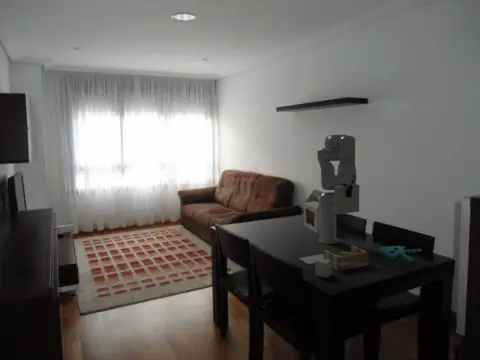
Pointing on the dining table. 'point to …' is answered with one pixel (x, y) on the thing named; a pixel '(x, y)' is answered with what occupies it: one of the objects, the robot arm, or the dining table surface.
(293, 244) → the dining table surface
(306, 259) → the felt mat
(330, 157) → the robot arm
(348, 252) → the offcut top
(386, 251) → the alien figure
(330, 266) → the skincare box
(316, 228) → the gable box
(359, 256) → the brown wooden open box
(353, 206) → the sheet
